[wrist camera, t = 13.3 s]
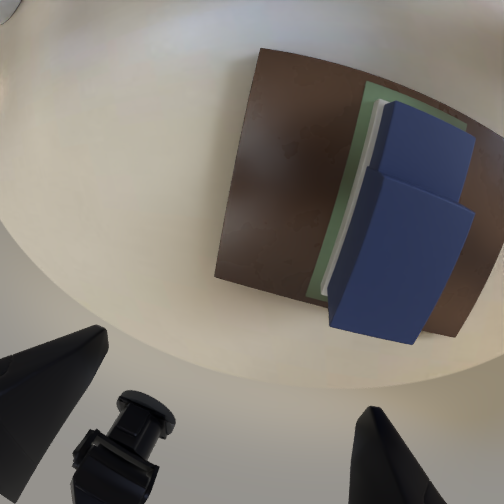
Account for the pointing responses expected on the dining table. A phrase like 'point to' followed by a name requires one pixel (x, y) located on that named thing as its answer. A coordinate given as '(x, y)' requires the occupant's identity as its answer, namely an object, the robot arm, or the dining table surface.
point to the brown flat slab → (336, 182)
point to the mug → (7, 9)
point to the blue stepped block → (399, 225)
